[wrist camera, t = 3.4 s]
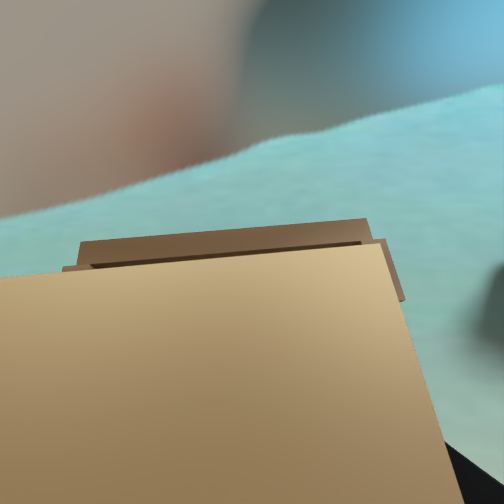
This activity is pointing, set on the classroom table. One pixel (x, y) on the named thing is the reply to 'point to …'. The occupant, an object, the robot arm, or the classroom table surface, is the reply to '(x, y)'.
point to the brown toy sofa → (229, 245)
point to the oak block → (217, 385)
